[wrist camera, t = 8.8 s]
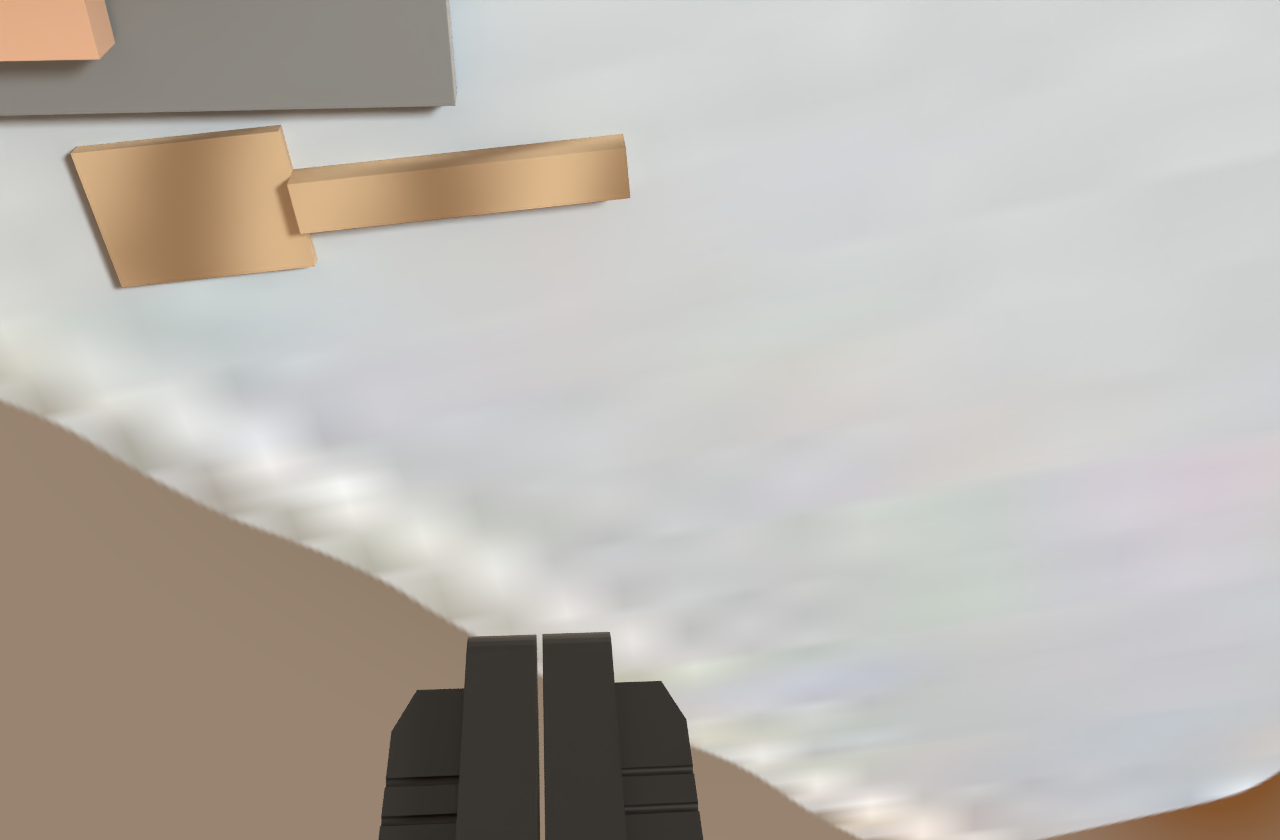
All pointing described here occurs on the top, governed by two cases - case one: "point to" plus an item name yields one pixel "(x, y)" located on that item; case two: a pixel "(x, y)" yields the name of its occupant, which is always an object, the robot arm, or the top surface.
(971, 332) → the top surface
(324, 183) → the turner
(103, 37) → the tile
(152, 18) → the board
